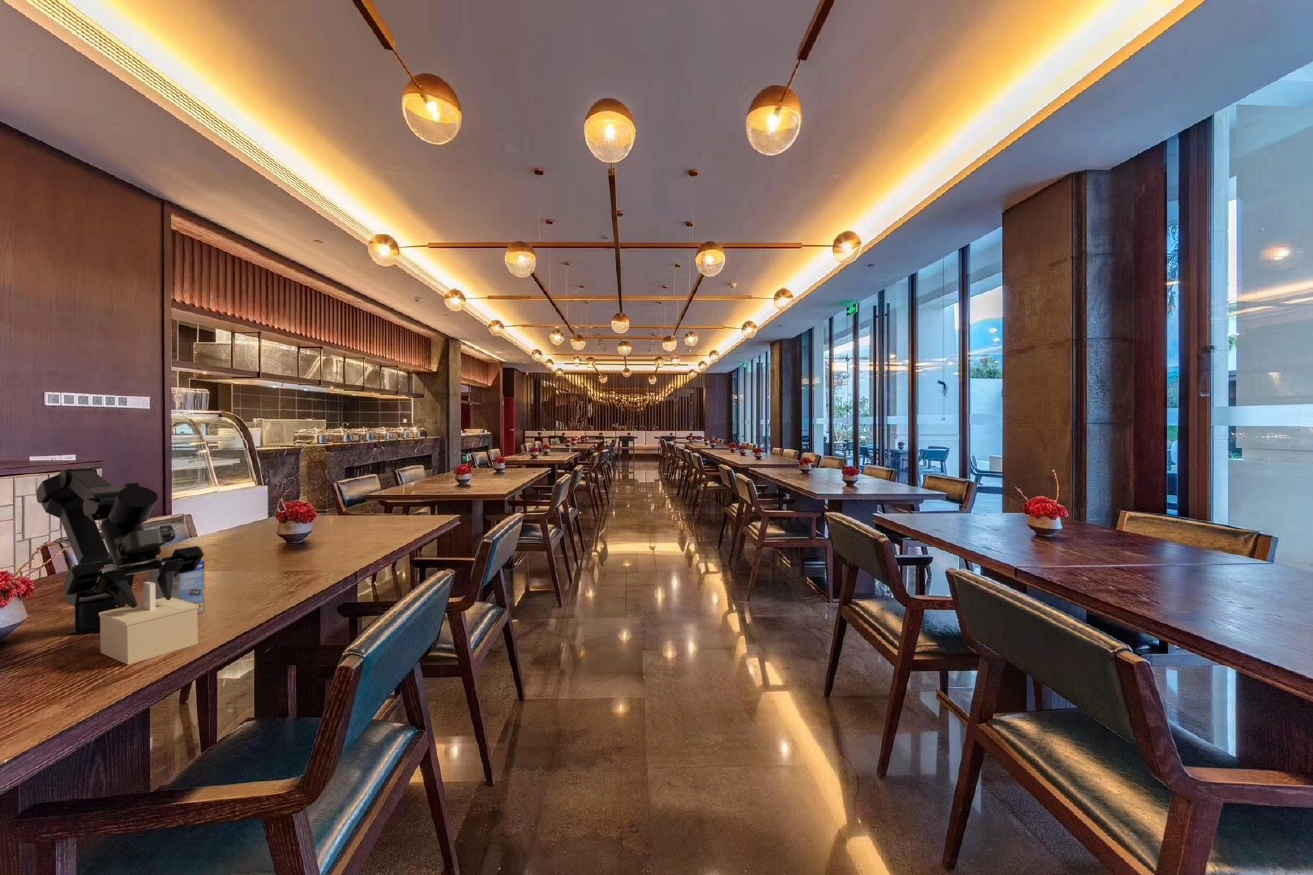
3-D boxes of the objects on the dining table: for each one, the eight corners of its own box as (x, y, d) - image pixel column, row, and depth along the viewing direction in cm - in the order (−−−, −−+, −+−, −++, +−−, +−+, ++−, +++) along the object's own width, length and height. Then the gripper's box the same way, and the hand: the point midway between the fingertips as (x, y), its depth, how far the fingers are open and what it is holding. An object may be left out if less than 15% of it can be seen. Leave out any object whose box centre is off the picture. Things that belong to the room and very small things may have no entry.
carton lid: (98, 615, 96) (98, 586, 96) (170, 599, 105) (169, 572, 105) (125, 625, 90) (125, 594, 90) (198, 607, 100) (198, 579, 100)
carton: (100, 652, 96) (100, 615, 96) (169, 633, 105) (168, 600, 105) (127, 664, 91) (127, 626, 91) (197, 643, 100) (197, 608, 100)
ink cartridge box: (206, 611, 118) (206, 549, 118) (180, 619, 113) (179, 555, 113) (173, 608, 120) (173, 548, 120) (146, 617, 115) (145, 553, 115)
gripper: (69, 521, 91) (94, 590, 86) (198, 507, 108) (226, 564, 103) (53, 560, 94) (77, 628, 90) (181, 541, 111) (207, 598, 106)
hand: (152, 602), depth 97 cm, fingers open, 5 cm apart
